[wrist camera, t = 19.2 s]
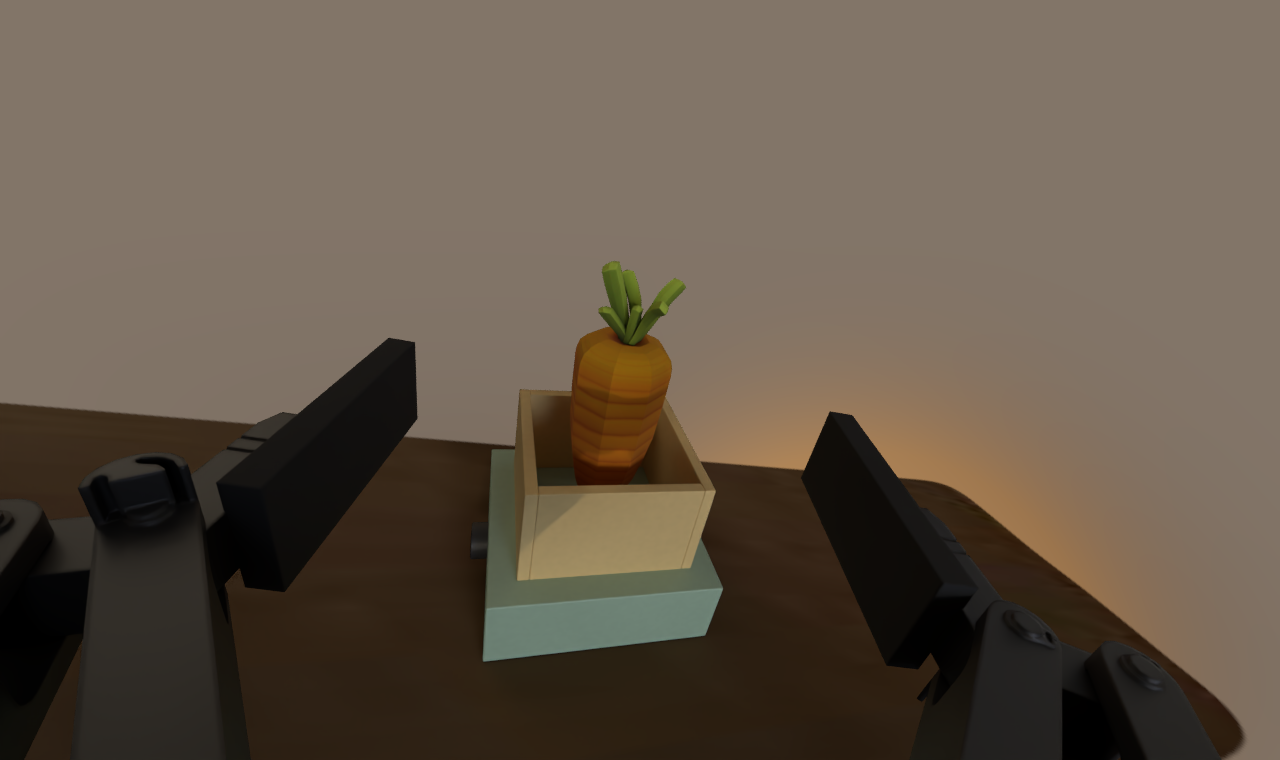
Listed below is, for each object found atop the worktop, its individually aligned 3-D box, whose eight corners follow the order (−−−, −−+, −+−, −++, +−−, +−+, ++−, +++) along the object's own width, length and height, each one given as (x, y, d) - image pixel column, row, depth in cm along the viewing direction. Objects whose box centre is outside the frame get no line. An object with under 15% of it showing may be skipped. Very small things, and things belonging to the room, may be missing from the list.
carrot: (643, 495, 31) (699, 264, 24) (626, 554, 26) (689, 291, 19) (568, 475, 31) (603, 242, 24) (539, 529, 27) (572, 263, 20)
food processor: (463, 664, 24) (466, 520, 19) (475, 495, 34) (480, 375, 29) (705, 636, 27) (754, 510, 23) (651, 491, 37) (678, 385, 33)
